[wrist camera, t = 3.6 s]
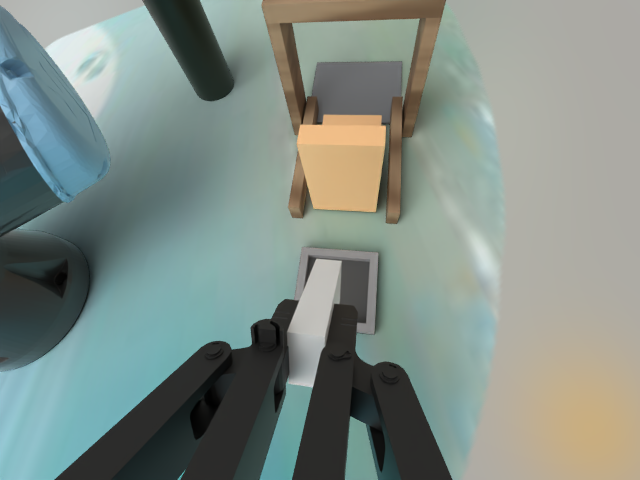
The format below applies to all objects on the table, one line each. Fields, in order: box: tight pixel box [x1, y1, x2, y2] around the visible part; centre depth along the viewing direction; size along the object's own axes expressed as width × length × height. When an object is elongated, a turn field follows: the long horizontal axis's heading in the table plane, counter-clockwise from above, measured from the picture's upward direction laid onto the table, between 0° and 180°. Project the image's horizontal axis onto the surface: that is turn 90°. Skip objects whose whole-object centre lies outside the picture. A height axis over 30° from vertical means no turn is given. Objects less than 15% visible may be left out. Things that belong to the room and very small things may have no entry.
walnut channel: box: [262, 0, 446, 224], centre depth 30 cm, size 16×15×16 cm
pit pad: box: [294, 247, 378, 335], centre depth 30 cm, size 8×8×1 cm
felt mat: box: [312, 61, 402, 124], centre depth 41 cm, size 11×12×1 cm
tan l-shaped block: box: [297, 115, 386, 212], centre depth 31 cm, size 12×7×11 cm, turn 173°
